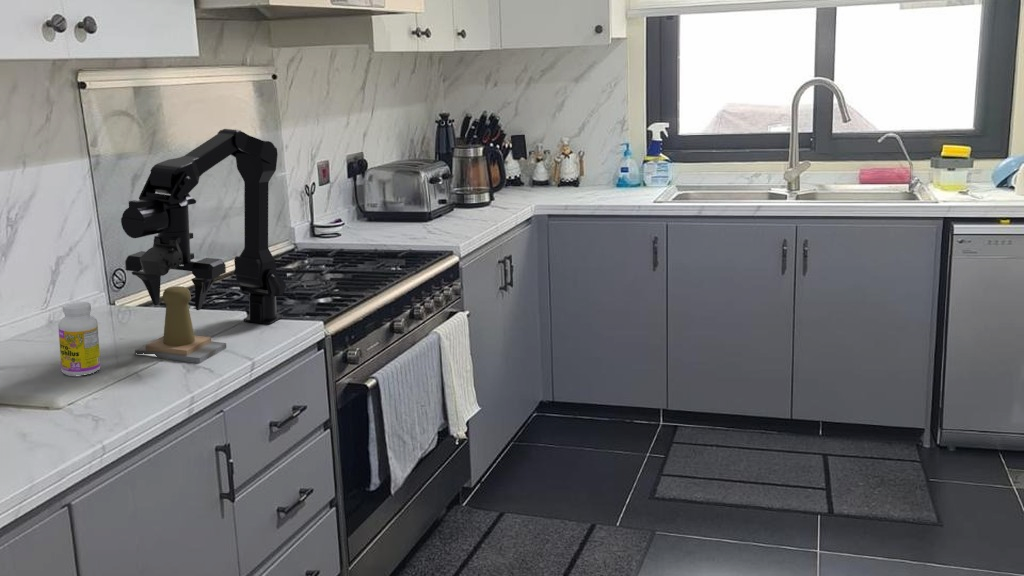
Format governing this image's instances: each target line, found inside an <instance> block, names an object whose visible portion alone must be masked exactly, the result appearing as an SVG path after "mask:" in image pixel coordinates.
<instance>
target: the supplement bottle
mask: <svg viewBox="0 0 1024 576" xmlns="http://www.w3.org/2000/svg"><path fill="white" fill-rule="evenodd" d="M91 311H92V306H91V303H90V302H88V301H70V302H67V303H65V304H63V305H62V312H63V314H64V317H62V318H61V319H60V320H59V322H58V325H57V326H58V328H57V329H58V341H59V354H60V365H61V366H60V368H61V373H63V374H64V375H65V376H69V377H77V376H76V375H84V374H89V373H93V372H95V371H97V370H99V371H100V369H101V354H100V353H101V352H100V339H99V324H98V323H99V322H98V320H97V318H96V317H95V316H93V315H92V314H91ZM97 372H98V371H97ZM93 374H94V373H93Z"/></svg>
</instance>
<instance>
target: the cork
mask: <svg viewBox="0 0 1024 576" xmlns="http://www.w3.org/2000/svg"><path fill="white" fill-rule="evenodd" d="M191 295H192V294H191V291H190V290H189V288H188V287H185V286H170V287H169V286H168V287H167V288H166V289H164V291H163V292H162V300H163V303H164V304H165V317H164V327H163V328H164V329H163V336H164V338H163V343H164V344H166V345H170V346H183V345H188V344H191V343H193V342H194V341H195V337H194V335H195V333H194V328H193V322H192V317H191V312H190V307H189V303H190V302H191V299H192V298H191V297H192V296H191Z"/></svg>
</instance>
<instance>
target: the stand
mask: <svg viewBox="0 0 1024 576" xmlns="http://www.w3.org/2000/svg"><path fill="white" fill-rule="evenodd" d="M194 337H195V341H194V342H193V343H191V344H188V345H183V346H170V345H166V344H164V343H163V338H164V335H163V336H161V337H159V338H156V339H154V340H153V341H150V342H148V343H147V344H145V345H143V346H141V347H138V348H136V349H135V353H134V354H136V353H137V354H143V353H144V354H155V355H156V356H157V358H158V359H165V360H173V361H174V360H175V361H180V362H190V363H197V364H201V363H203V362H204V361H206V360H208V359H209V358H211V357H213V356H215V355H217V354H218V353H220V352H222V351H223V350H225V349H227V343H226V342H219V341H213V340H212V337H210V336H202V335H195V334H194ZM157 358H156V359H157Z"/></svg>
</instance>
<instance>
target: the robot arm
mask: <svg viewBox="0 0 1024 576" xmlns="http://www.w3.org/2000/svg"><path fill="white" fill-rule="evenodd" d="M230 156H232V157H233V158H235V163H236V169H237V171H238V173H239V175H240V176H241V178H242V180H243V182H244V185H243V187H244V188H243V189H244V202H243V203H244V205H243V207H244V211H243V212H244V215H243V216H244V220H243V221H244V222H243V224H244V226H243V227H244V228H243V229H244V242H243V243H244V247H243V249H242V251H241V253H240V254H239V256H238V255H237V256H235V257H234V272H233V275H234V276H235V280H236V282H237V284H238V287H239V290H240V292H241V293H248V294H249V295H248V297H249V301H248V303H249V304H248V305H249V310H248V311H249V315H248V316H246V317H245V318H243V322H246V323H247V322H248V323H256V324H266V325H272V324H273V323H275V322H276V321H278V320H280V319H281V318H283V314H282V313H281V314H280V313H277V297H281V296H282V294H284V293H285V292H286V285H287V284H286V282H285V281H284V280H283V278H281V276H280V275H279V274H278V272H277V265H276V260H275V258H274V256H273V254H272V252H271V251H270V249H269V185H270V184H269V182H270V181H271V179H272V177H273V175H274V174H275V172H276V171H277V164H278V163H277V162H278V149H277V147H276V146H275V145H274V143H273V142H272V141H269V140H262V139H260V138H256V137H254V136H252V135H249V134H247V133H245V132H244V131H242V129H241V130H239V129H231V128H223V129H220V130H219V131H218V132H217V134H216V135H214V136H213V137H211V138H209V139H208V140H206V141H205V142H203V143H202V144H200V145H199V146H197V147H195V148H194V149H192V150H191V151H189V152H188V153H186V154H185V155H182V156H180V157H175V158H174V157H173V158H170V159H166V160H163V161H161V162H158V163H156V164H154V165H153V166H152V167H151V168H150V172H149V175H148V176H147V180H146V182H145V184H144V186H143V188H142V191H141V192H140V194H139V196H138V199H139V200H136V199H135V200H134V199H133V200H128V208H126V209H125V210H124V211H123V213H122V216H121V217H120V223H121V227H122V229H123V231H124V233H125V234H126V235H127V236H128V237H130V238H132V239H139V238H144V237H147V236H153V235H154V237H153V243H152V244H153V245H152V247H150V248H148V249H147V250H146V251H143V250H141V251H138V252H134V253H132V254H129V255H127V257H126V258H125V261H124V267H125V268H124V269H125V271H126V272H127V271H128V272H131V275H133V276H136V277H137V278H138V279H140V280H141V281H142V283H143V285H144V286H145V288H146V290H147V292H148V295H149V297H150V299H151V302H152V303H153V306H159V305H160V298H161V278H162V277H163V276H166V275H167V274H168V273H169V271H170V270H175V271H177V270H178V271H186V272H191V274H192V275H193V276H194V277H193V278H191V280H190V281H191V282H192V284H193V285H194V303H195V304H194V305H195V310H196V311H200V310H201V309H202V307H203V304H204V302H205V299H206V297H207V294H208V292H209V290H210V288H211V286H212V284H213V283H214V281H215V279H217V278H219V277H220V276H221V275H223V274H224V275H225V274H226V273H227V271H226V270H227V268H226V267H227V266H226V263H225V261H224V260H223V259H221V258H213V257H205V258H202V259H200V260H197V261H192V260H193V259H195V253H192V252H191V242H190V241H191V239H194V233H193V232H190V218H189V217H190V215H189V214H190V213H189V205H190V206H191V205H195V204H197V200H196V199H195V198H194V197H193V196H191V195H190V194H189V193H191V192H192V190H194V189H195V188H196V186H198V184H199V181H200V178H201V176H202V175H203V174H205V173H206V172H207V171H208V170H211V169H212V168H213V167H215V166H217V165H218V164H219V163H221V162H222V161H224V160H226V159H227V158H228V157H230Z"/></svg>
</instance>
